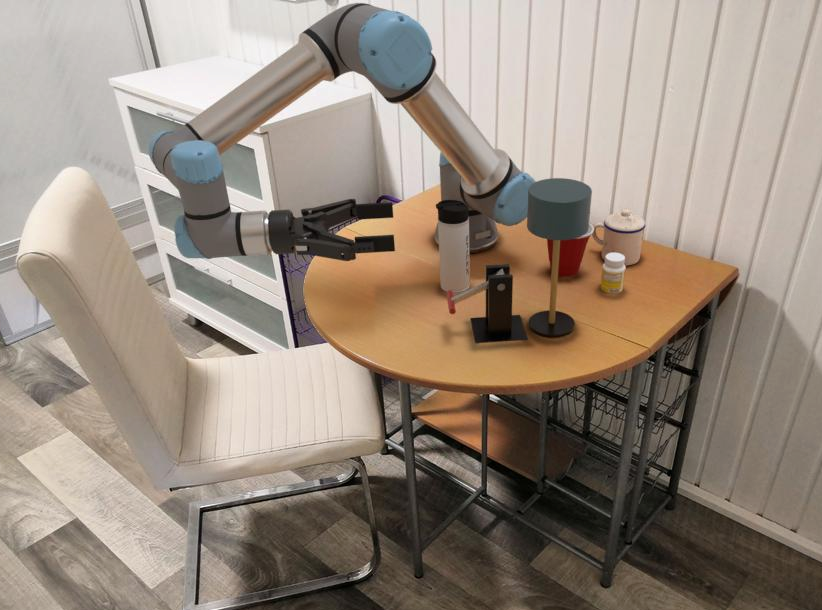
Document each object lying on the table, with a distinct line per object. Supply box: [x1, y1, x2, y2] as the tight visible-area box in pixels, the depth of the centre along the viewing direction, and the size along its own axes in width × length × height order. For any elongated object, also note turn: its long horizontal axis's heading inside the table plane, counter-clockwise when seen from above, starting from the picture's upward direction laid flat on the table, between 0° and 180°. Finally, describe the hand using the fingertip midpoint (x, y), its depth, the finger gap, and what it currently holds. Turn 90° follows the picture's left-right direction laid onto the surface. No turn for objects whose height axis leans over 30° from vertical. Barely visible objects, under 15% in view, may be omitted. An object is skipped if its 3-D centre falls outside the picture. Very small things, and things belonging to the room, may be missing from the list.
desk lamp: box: [526, 177, 593, 339], centre depth 137 cm, size 11×11×29 cm
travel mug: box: [435, 200, 471, 294], centre depth 153 cm, size 6×7×20 cm
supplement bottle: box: [600, 253, 627, 294], centre depth 154 cm, size 5×5×8 cm
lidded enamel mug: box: [591, 208, 646, 267], centre depth 167 cm, size 12×9×12 cm
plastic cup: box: [546, 222, 594, 278], centre depth 160 cm, size 11×11×12 cm
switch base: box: [470, 263, 528, 344], centre depth 140 cm, size 10×9×14 cm
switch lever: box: [445, 269, 505, 315], centre depth 138 cm, size 12×7×2 cm, turn 95°
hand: (393, 225), depth 129 cm, fingers open, 13 cm apart
